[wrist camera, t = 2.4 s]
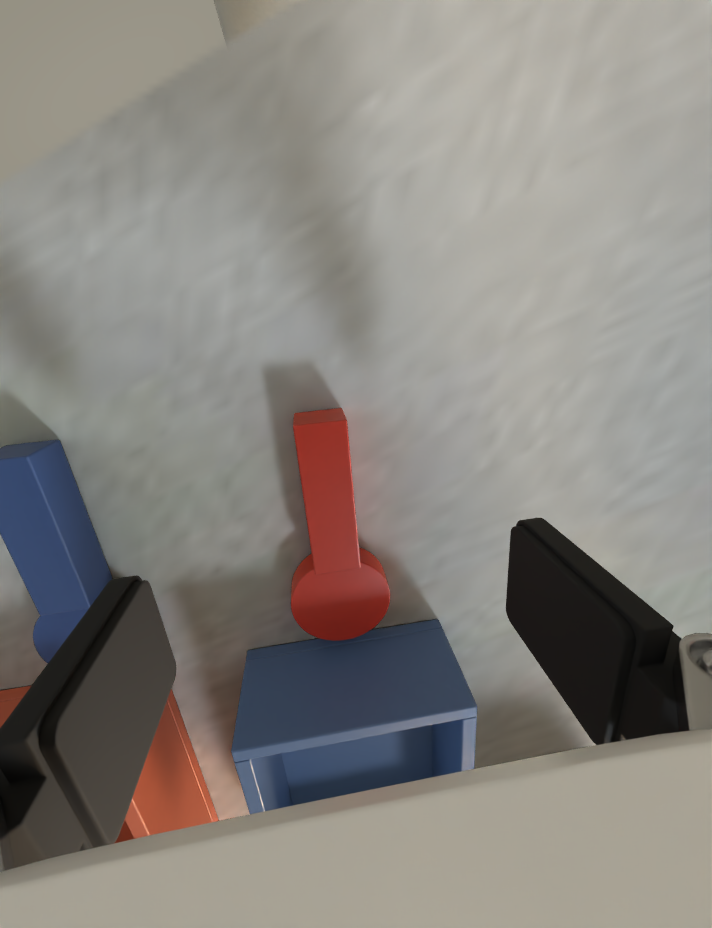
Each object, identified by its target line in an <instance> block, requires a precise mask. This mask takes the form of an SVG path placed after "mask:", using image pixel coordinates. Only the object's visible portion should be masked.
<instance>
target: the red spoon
mask: <svg viewBox="0 0 712 928" xmlns="http://www.w3.org/2000/svg"><path fill="white" fill-rule="evenodd" d="M293 430H294V437H295V444H296V450H297V457H298V464H299V471H300V478H301V484H302V491H303V498H304V505H305V511H306V518H307V525H308V532H309V539H310V545H311V552H312V553H311V554H310V555H309V556H307V557H306V558H305V559H304V560H303V561H302V562H301V563H300V565H299V566H298V567H297V569H296V571H295V573H294V576H293V579H292V589H291V610H292V613H293V616H294V618H295V620H296V622H297V623H298V625H299V626H300V627H301V628H302V629H303V630H305V631H306V632H307V633H309V634H310V635H313V636H315V637H317V638H320V639H325V640H332V641H340V640H348V639H352V638H355V637H358V636H361V635H363V634H365V633H367V632H368V631H370V630H371V629H373V628H374V627H375V626H376V625H377V624H378V623H379V622H380V621H381V620H382V618H383V617H384V615H385V614H386V612H387V610H388V607H389V603H390V589H389V586H388V583H387V580H386V576H385V573H384V570H383V567H382V565H381V563H380V562H379V561H378V559H377V558H376V557H375V556H374V555H372V554H371V553H370V552H368V551H367V550H365V549H363V548H360V547H359V544H358V533H357V522H356V512H355V501H354V490H353V480H352V469H351V458H350V447H349V437H348V426H347V420H346V417H345V415H344V412H343V410H342V408H336V409H327V410H318V411H309V412H300V413H294V421H293Z"/></svg>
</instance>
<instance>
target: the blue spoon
mask: <svg viewBox="0 0 712 928" xmlns="http://www.w3.org/2000/svg"><path fill="white" fill-rule="evenodd" d="M0 534H1V536H2V538H3V540H4V542H5V544H6V546H7V549H8V551H9V553H10V555H11V557H12V559H13V561H14V563H15V565H16V567H17V569H18V571H19V573H20V575H21V577H22V579H23V581H24V583H25V586H26V588H27V590H28V592H29V594H30V596H31V598H32V600H33V602H34V604H35V606H36V608H37V610H38V612H39V614H40V615H41V616H40V617H39V618H38V620H37V621H36V624H35V626H34V631H33V641H34V645H35V647H36V650H37V651H38V653H39V655H40V656H41V657H42V658H43V660H44V661H45V662H47V663H49V662H50V660H51V659H52V658H53V656H54V655H55V654H56V652H57V651H58V650H59V648H60V647H61V645H62V644H63V643H64V641H65V640H66V639H67V637H68V636H69V635H70V633H71V632H72V631H73V629H74V628H75V627H76V625H77V624H78V623H79V621H80V620H81V618H82V617H83V616H84V614H85V613H86V612H87V610H88V609H89V608H90V606H91V605H92V604H93V602H94V601H95V600H96V598H97V597H98V596H99V594H100V593H101V592H102V590H103V589H104V587H105V586H106V585H107V583H108V582H109V581H110V580H111V579H112V576H111V573H110V570H109V568H108V565H107V563H106V560H105V557H104V555H103V552H102V549H101V547H100V544H99V542H98V539H97V536H96V534H95V531H94V529H93V526H92V523H91V521H90V518H89V515H88V513H87V510H86V508H85V505H84V502H83V500H82V497H81V494H80V492H79V489H78V487H77V484H76V481H75V479H74V476H73V474H72V471H71V468H70V466H69V463H68V460H67V458H66V455H65V453H64V450H63V447H62V445H61V442H60V440H50V441H41V442H32V443H23V444H14V445H6V446H4V447H2V448H0Z"/></svg>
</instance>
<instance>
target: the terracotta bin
mask: <svg viewBox="0 0 712 928" xmlns="http://www.w3.org/2000/svg"><path fill="white" fill-rule="evenodd" d="M30 687H31V686H26V687H20V688H14V689H8V690H2V691H0V728H1V726H2V725H3V724H4V722H5V721H6V720H7V718H8V717H9V716H10V714H11V713H12V712H13V710H14V709H15V707H16V706H17V705H18V703H19V702H20V701H21V699H22V698H23V697H24V695H25V694H26V693H27V691H28V690H29V689H30ZM216 821H219V820H218V817H217V814H216V811H215V809H214V806H213V803H212V800H211V798H210V795H209V792H208V789H207V786H206V784H205V781H204V778H203V775H202V773H201V770H200V767H199V764H198V761H197V759H196V756H195V753H194V750H193V748H192V745H191V742H190V739H189V736H188V734H187V731H186V728H185V725H184V723H183V720H182V717H181V714H180V711H179V709H178V706H177V703H176V700H175V698H174V695H173V692H172V689H171V691H170V694H169V696H168V699H167V702H166V705H165V708H164V710H163V713H162V716H161V719H160V722H159V725H158V727H157V730H156V733H155V736H154V739H153V741H152V744H151V747H150V750H149V753H148V755H147V758H146V761H145V764H144V767H143V769H142V772H141V775H140V778H139V781H138V783H137V786H136V789H135V792H134V795H133V798H132V800H131V803H130V806H129V809H128V812H127V814H126V817H125V820H124V823H123V826H122V828H121V831H120V834H119V836H118V838H117V840H116V841H115V843H118V842H123V841H127V840H132V839H136V838H140V837H145V836H149V835H154V834H159V833H163V832H168V831H173V830H178V829H183V828H187V827H192V826H197V825H202V824H207V823H211V822H216Z"/></svg>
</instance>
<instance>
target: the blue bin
mask: <svg viewBox="0 0 712 928" xmlns="http://www.w3.org/2000/svg"><path fill="white" fill-rule="evenodd" d="M476 721H477V704H476V702H475V700H474V698H473V695H472V693H471V691H470V689H469V686H468V684H467V682H466V680H465V678H464V675H463V673H462V671H461V669H460V666H459V664H458V662H457V660H456V657H455V655H454V653H453V651H452V648H451V646H450V644H449V642H448V639H447V637H446V635H445V633H444V631H443V629H442V626H441V624H440V622H439V620H438V619H435V620H429V621H423V622H417V623H411V624H405V625H399V626H392V627H386V628H380V629H374V630H370V631H368V632H367V633H365V634H363V635H361V636H358V637H355V638H352V639H348V640H340V641H332V640H325V639H320V638H319V639H313V640H307V641H301V642H295V643H289V644H283V645H277V646H271V647H265V648H259V649H253V650H248V651H247V656H246V663H245V669H244V675H243V681H242V688H241V694H240V700H239V706H238V713H237V719H236V725H235V731H234V737H233V744H232V750H231V753H232V756H233V759H234V763H235V767H236V770H237V773H238V776H239V780H240V783H241V786H242V789H243V793H244V796H245V799H246V802H247V806H248V809H249V812H250V814H254V813H259V812H264V811H269V810H274V809H278V808H283V807H288V806H293V805H298V804H303V803H308V802H312V801H317V800H322V799H327V798H332V797H337V796H342V795H347V794H352V793H357V792H362V791H367V790H371V789H376V788H381V787H386V786H391V785H396V784H401V783H406V782H411V781H416V780H421V779H426V778H431V777H436V776H441V775H446V774H451V773H456V772H461V771H466V770H471V769H474V764H475V743H476Z"/></svg>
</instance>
